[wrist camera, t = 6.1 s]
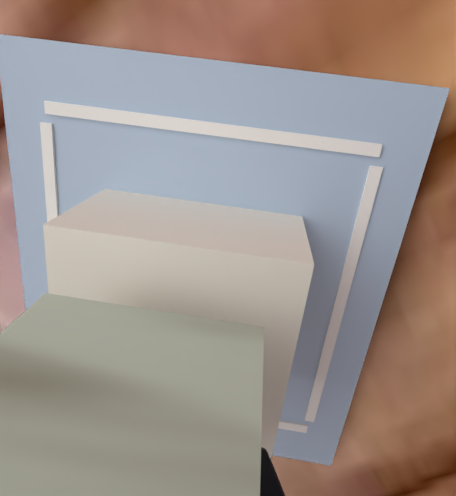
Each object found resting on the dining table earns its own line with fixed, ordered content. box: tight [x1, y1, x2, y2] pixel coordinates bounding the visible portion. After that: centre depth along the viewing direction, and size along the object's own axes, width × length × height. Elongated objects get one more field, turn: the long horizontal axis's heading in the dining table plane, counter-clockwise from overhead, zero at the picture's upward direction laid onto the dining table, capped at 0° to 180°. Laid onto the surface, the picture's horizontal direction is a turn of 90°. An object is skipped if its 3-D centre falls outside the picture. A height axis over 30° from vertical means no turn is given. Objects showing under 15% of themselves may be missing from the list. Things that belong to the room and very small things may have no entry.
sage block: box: [0, 293, 264, 496], centre depth 7 cm, size 5×5×4 cm
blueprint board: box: [0, 34, 450, 466], centre depth 13 cm, size 16×14×5 cm
